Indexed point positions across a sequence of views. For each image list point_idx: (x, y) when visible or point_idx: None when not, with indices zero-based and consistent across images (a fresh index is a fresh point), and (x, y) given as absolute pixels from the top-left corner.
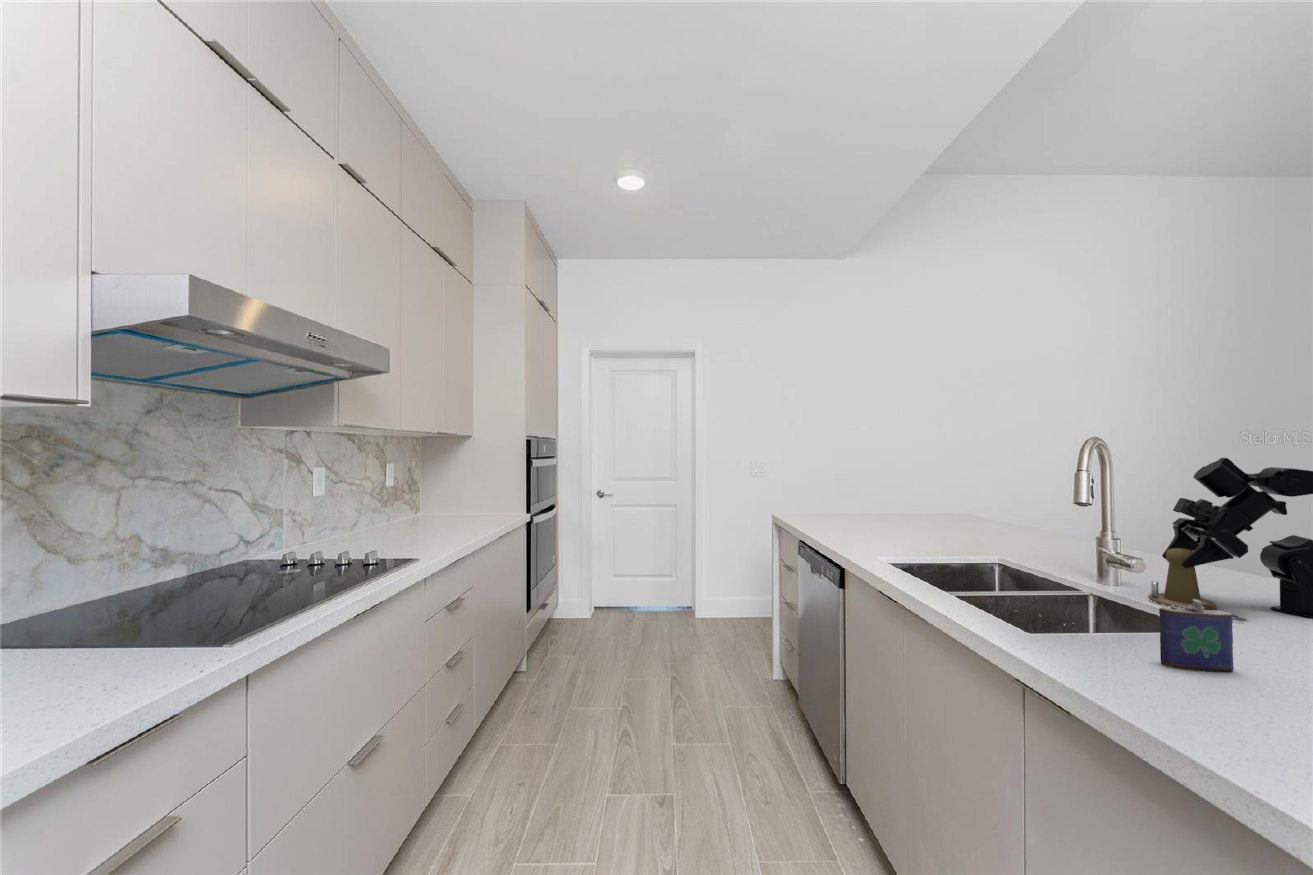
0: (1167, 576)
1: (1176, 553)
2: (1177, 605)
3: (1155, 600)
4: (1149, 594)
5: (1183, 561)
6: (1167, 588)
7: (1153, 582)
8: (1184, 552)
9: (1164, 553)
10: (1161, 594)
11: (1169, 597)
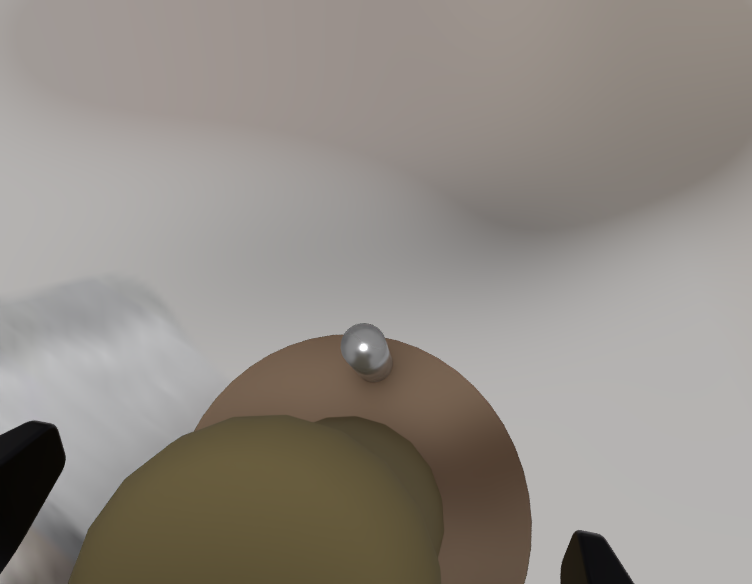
0: (357, 441)
1: (146, 473)
2: (214, 402)
3: (320, 337)
4: (461, 378)
5: (12, 443)
6: (337, 423)
7: (349, 329)
8: (77, 569)
9: (596, 565)
10: (479, 463)
11: (318, 421)
